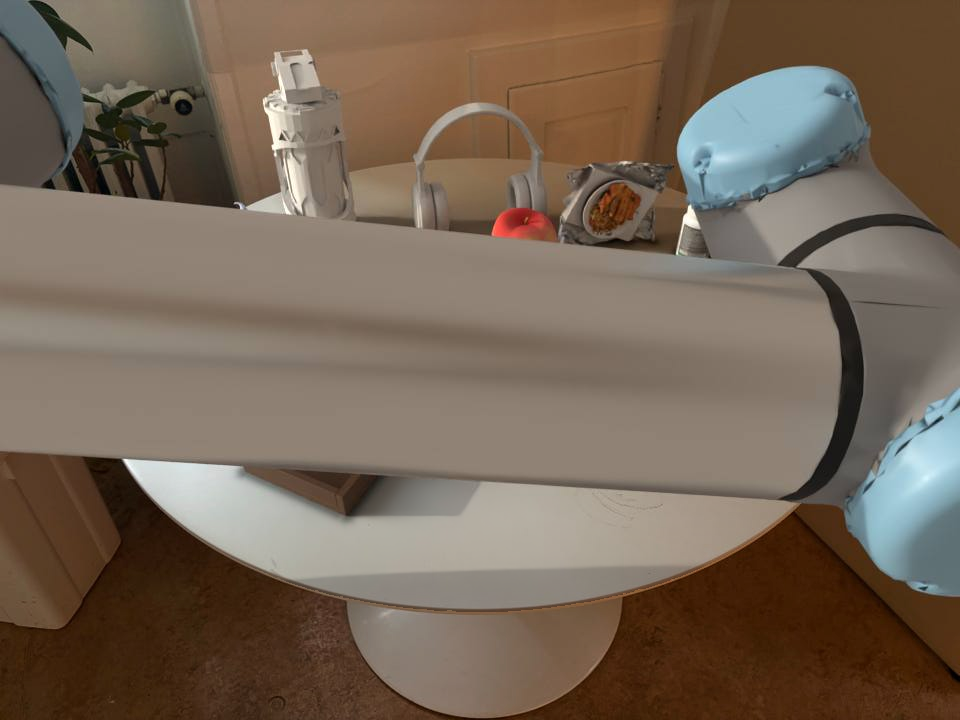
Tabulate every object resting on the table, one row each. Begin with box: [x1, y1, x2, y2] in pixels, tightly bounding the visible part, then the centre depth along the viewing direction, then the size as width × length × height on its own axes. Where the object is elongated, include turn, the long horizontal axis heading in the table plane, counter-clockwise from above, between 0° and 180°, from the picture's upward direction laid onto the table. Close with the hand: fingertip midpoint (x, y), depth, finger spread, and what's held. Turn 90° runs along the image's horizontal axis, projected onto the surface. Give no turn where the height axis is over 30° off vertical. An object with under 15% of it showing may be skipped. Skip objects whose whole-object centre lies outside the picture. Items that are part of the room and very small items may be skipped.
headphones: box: [410, 102, 548, 231], centre depth 103 cm, size 20×8×19 cm, turn 103°
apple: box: [491, 207, 558, 243], centre depth 95 cm, size 10×10×10 cm
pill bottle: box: [675, 204, 710, 259], centre depth 100 cm, size 5×5×8 cm
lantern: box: [262, 48, 357, 221], centre depth 101 cm, size 13×10×25 cm
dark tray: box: [242, 466, 379, 517], centre depth 72 cm, size 13×13×3 cm
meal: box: [557, 160, 675, 246], centre depth 101 cm, size 15×4×13 cm, turn 107°
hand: (428, 339), depth 59 cm, fingers open, 13 cm apart
